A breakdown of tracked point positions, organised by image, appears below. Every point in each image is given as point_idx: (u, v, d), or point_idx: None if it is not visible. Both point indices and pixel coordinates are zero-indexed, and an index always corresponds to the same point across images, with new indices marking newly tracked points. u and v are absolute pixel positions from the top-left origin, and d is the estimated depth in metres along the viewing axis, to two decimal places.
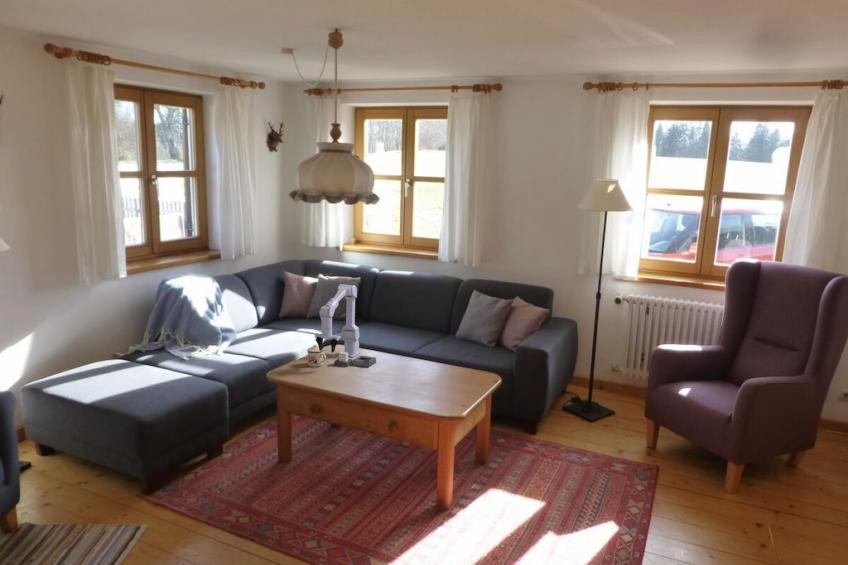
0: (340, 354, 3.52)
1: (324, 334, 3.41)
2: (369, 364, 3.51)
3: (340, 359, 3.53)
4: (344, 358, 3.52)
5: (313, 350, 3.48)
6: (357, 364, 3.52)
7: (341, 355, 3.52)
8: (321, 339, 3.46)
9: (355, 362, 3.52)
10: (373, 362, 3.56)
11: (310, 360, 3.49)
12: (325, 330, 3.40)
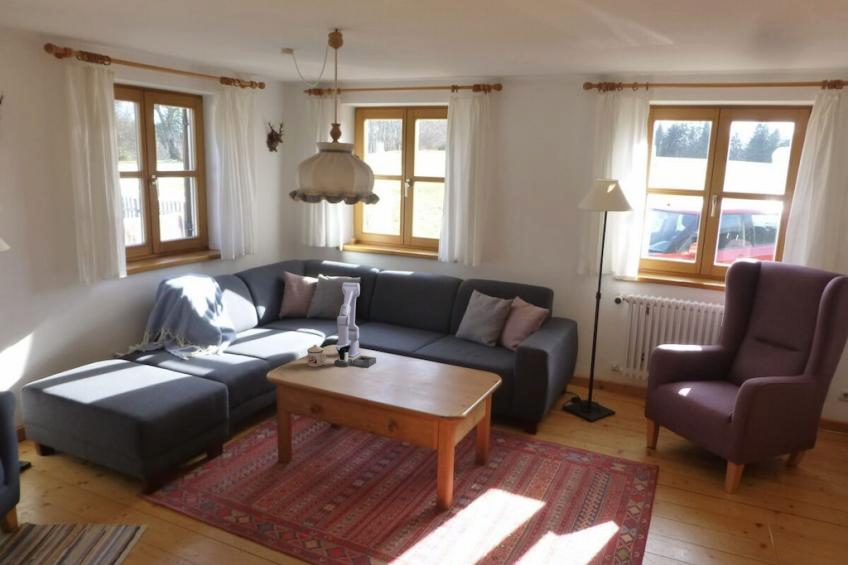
0: None
1: None
2: (369, 364, 3.51)
3: None
4: (344, 358, 3.52)
5: (313, 350, 3.48)
6: (357, 364, 3.52)
7: None
8: (345, 347, 3.54)
9: (355, 362, 3.52)
10: (373, 362, 3.56)
11: (310, 360, 3.49)
12: None
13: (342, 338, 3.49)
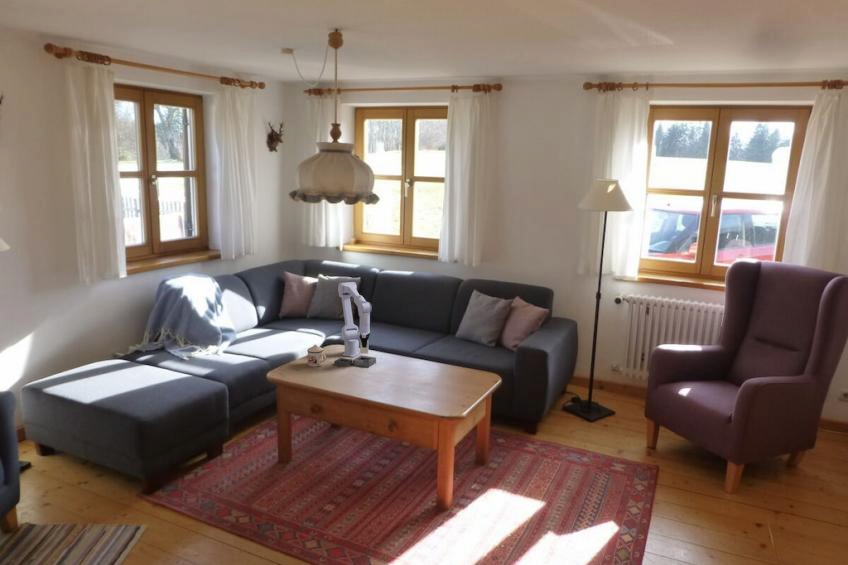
0: None
1: None
2: (369, 364, 3.51)
3: (362, 347, 3.53)
4: (366, 346, 3.53)
5: (313, 350, 3.48)
6: (357, 364, 3.52)
7: None
8: (365, 335, 3.55)
9: (355, 362, 3.52)
10: (373, 362, 3.56)
11: (310, 360, 3.49)
12: None
13: (365, 326, 3.49)
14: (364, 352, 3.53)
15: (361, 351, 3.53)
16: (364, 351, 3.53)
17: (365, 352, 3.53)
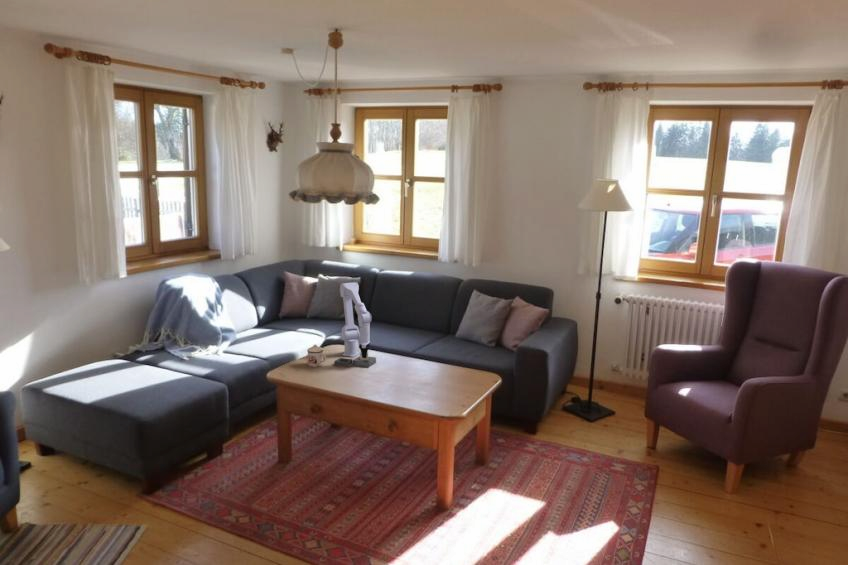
0: None
1: None
2: (369, 364, 3.51)
3: (362, 359, 3.54)
4: (366, 357, 3.54)
5: (313, 350, 3.48)
6: (357, 364, 3.52)
7: None
8: (365, 345, 3.57)
9: (355, 362, 3.52)
10: (373, 362, 3.56)
11: (310, 360, 3.49)
12: (359, 335, 3.52)
13: (365, 336, 3.50)
14: None
15: None
16: None
17: None
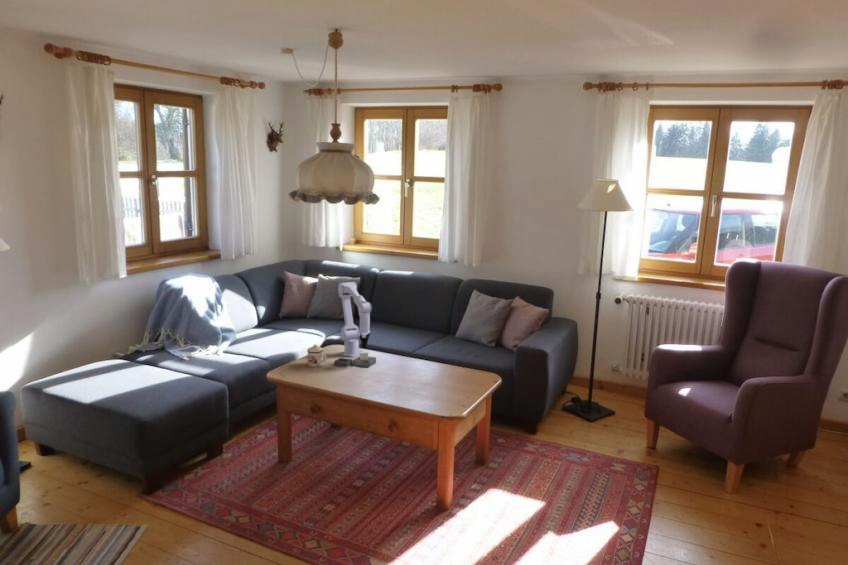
0: (362, 354, 3.54)
1: None
2: (369, 364, 3.51)
3: (362, 359, 3.54)
4: (366, 357, 3.54)
5: (313, 350, 3.48)
6: (357, 364, 3.52)
7: (363, 355, 3.54)
8: (365, 334, 3.56)
9: (355, 362, 3.52)
10: (373, 362, 3.56)
11: (310, 360, 3.49)
12: None
13: (365, 326, 3.49)
14: None
15: None
16: None
17: None
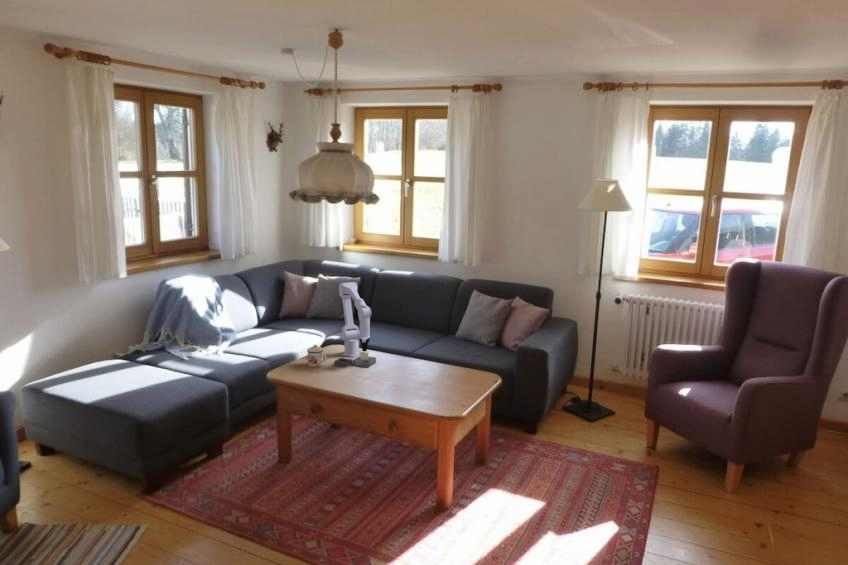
0: (362, 354, 3.54)
1: (359, 333, 3.53)
2: (369, 364, 3.51)
3: (362, 359, 3.54)
4: (366, 357, 3.54)
5: (313, 350, 3.48)
6: (357, 364, 3.52)
7: (363, 355, 3.54)
8: None
9: (355, 362, 3.52)
10: (373, 362, 3.56)
11: (310, 360, 3.49)
12: None
13: (365, 330, 3.50)
14: None
15: None
16: None
17: None
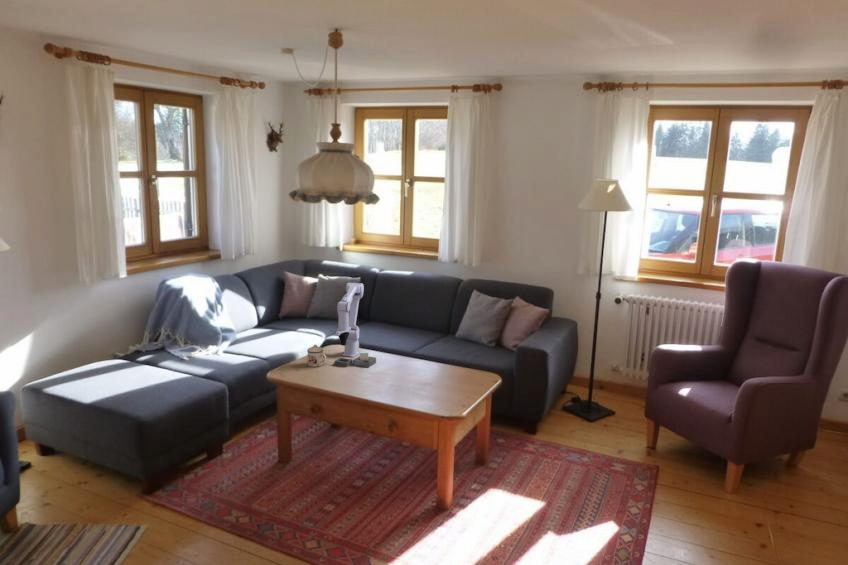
0: (362, 354, 3.54)
1: None
2: (369, 364, 3.51)
3: (362, 359, 3.54)
4: (366, 357, 3.54)
5: (313, 350, 3.48)
6: (357, 364, 3.52)
7: (363, 355, 3.54)
8: None
9: (355, 362, 3.52)
10: (373, 362, 3.56)
11: (310, 360, 3.49)
12: None
13: (342, 324, 3.51)
14: None
15: None
16: None
17: None
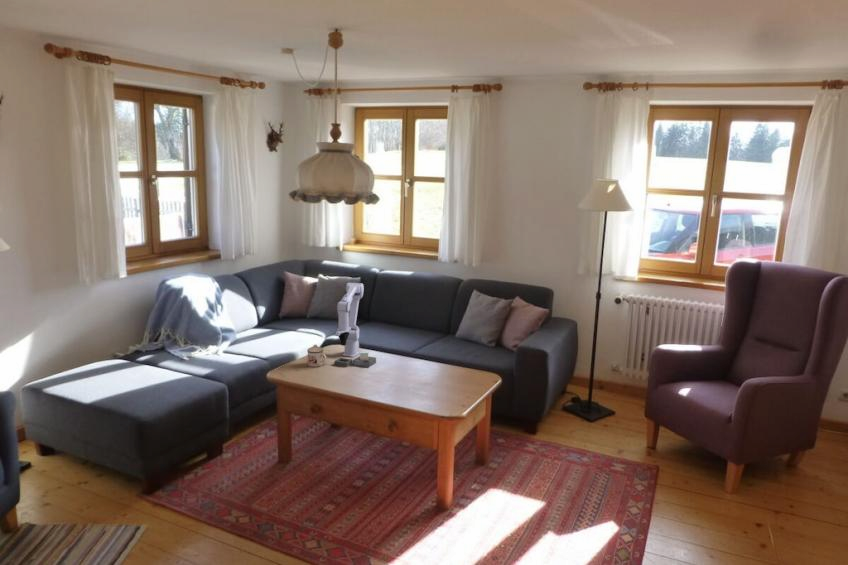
0: (362, 354, 3.54)
1: None
2: (369, 364, 3.51)
3: (362, 359, 3.54)
4: (366, 357, 3.54)
5: (313, 350, 3.48)
6: (357, 364, 3.52)
7: (363, 355, 3.54)
8: None
9: (355, 362, 3.52)
10: (373, 362, 3.56)
11: (310, 360, 3.49)
12: None
13: (342, 324, 3.51)
14: None
15: None
16: None
17: None
